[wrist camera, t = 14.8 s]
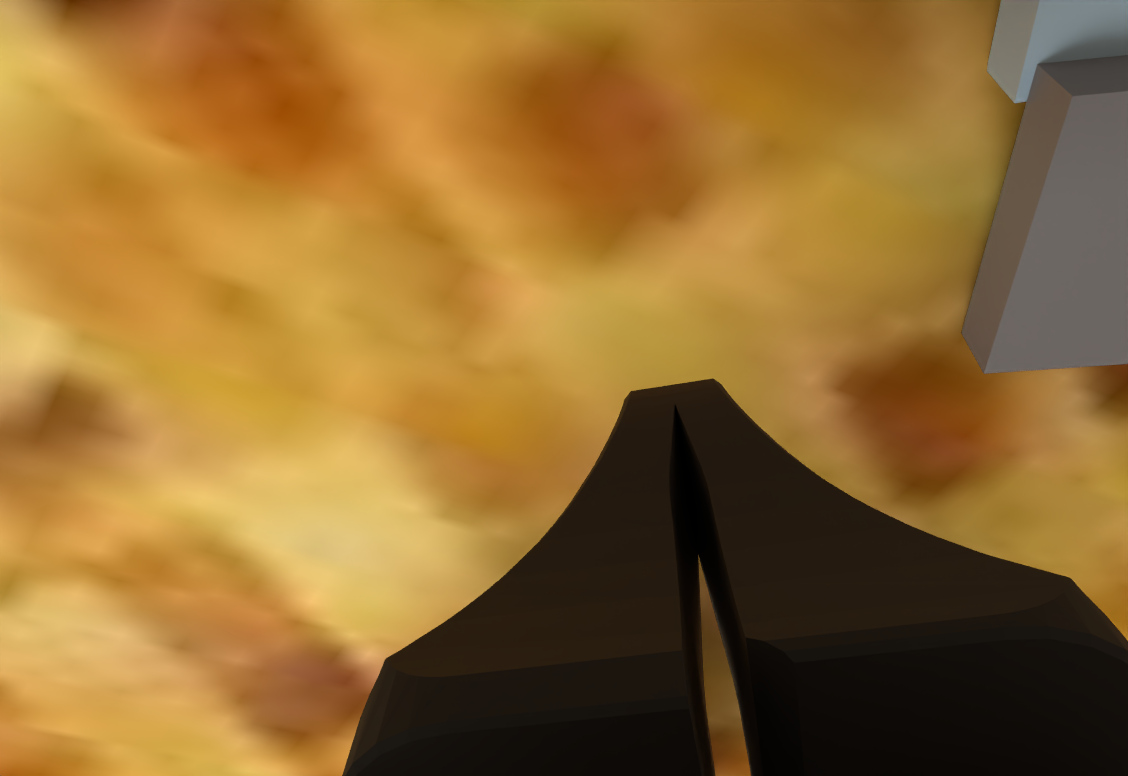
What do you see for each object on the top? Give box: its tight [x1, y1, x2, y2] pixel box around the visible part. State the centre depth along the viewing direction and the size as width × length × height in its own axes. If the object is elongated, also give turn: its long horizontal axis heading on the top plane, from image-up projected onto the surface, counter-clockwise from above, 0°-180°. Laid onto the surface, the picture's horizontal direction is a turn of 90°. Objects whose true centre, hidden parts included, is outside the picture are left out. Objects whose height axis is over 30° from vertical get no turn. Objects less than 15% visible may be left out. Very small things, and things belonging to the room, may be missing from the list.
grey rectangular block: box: [961, 55, 1128, 374], centre depth 18 cm, size 2×5×7 cm
